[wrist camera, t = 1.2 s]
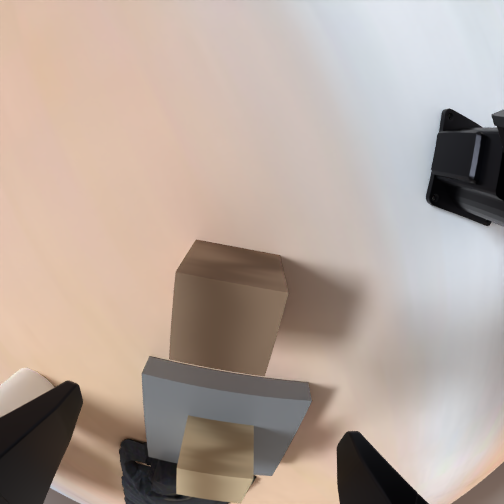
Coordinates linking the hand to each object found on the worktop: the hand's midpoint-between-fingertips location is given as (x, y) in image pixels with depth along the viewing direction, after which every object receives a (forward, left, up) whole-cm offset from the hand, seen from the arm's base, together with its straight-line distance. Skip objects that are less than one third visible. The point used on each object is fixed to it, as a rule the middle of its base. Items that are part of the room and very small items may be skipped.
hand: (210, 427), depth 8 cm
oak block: (-1, +13, -9) cm, 16 cm away
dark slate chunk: (+3, +31, -12) cm, 33 cm away
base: (-1, +13, -11) cm, 17 cm away
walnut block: (0, 0, -11) cm, 11 cm away
